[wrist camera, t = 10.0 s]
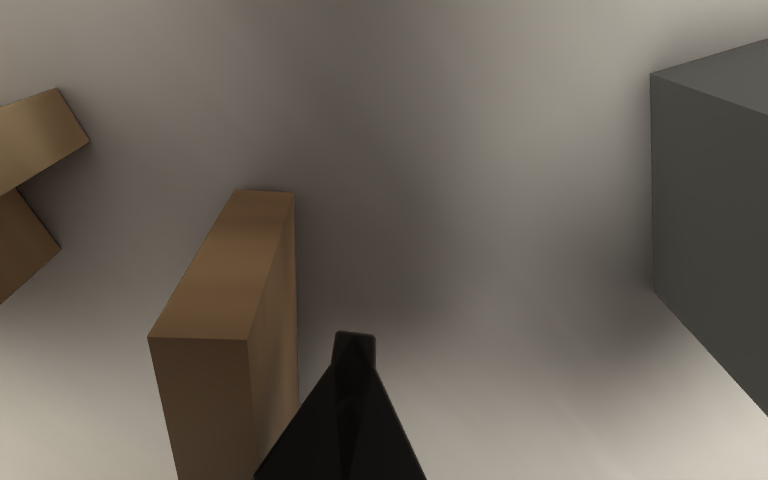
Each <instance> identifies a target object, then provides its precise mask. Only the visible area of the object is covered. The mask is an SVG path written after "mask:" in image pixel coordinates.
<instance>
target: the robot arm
mask: <svg viewBox="0 0 768 480" xmlns="http://www.w3.org/2000/svg"><path fill="white" fill-rule="evenodd" d="M250 480H427V479H426V477H425V474H424V472H423V470H422V468H421V466H420V464H419V461H418V459H417V457H416V455H415V453H414V451H413V448H412V446H411V444H410V442H409V440H408V438H407V435H406V433H405V431H404V429H403V427H402V425H401V422H400V420H399V418H398V416H397V414H396V412H395V409H394V407H393V405H392V403H391V401H390V399H389V396H388V394H387V392H386V390H385V388H384V386H383V383H382V381H381V379H380V377H379V375H378V373H377V370H376V338H375V336H374V335H372V334H364V333H356V332H348V331H337V332H336V334H335V340H334V346H333V352H332V359H331V364H330V366H329V367H328V368H327V370H326V371H325V373H324V374H323V376H322V377H321V378H320V380H319V381H318V383H317V384H316V386H315V387H314V388H313V390H312V391H311V393H310V394H309V396H308V397H307V398H306V400H305V401H304V403H303V404H302V405H301V407H300V408H299V410H298V411H297V413H296V414H295V415H294V417H293V418H292V420H291V421H290V423H289V424H288V425H287V427H286V428H285V430H284V431H283V433H282V434H281V435H280V437H279V438H278V440H277V441H276V443H275V444H274V445H273V447H272V448H271V450H270V451H269V453H268V454H267V455H266V457H265V458H264V460H263V461H262V463H261V464H260V465H259V467H258V468H257V470H256V471H255V473H254V474H253V476H252V479H250Z"/></svg>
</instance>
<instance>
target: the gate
mask: <svg viewBox="0 0 768 480" xmlns="http://www.w3.org/2000/svg"><path fill="white" fill-rule="evenodd" d="M147 338H148V343H149V347H150V352H151V357H152V361H153V366H154V370H155V375H156V379H157V384H158V388H159V393H160V398H161V402H162V407H163V411H164V416H165V420H166V425H167V429H168V434H169V439H170V443H171V448H172V452H173V457H174V461H175V466H176V471H177V475H178V480H250V479H252V476H253V474H254V473H255V471H256V470H257V468H258V467H259V465H260V464H261V463H262V461H263V460H264V458H265V457H266V455H267V454H268V453H269V451H270V450H271V448H272V447H273V445H274V444H275V443H276V441H277V440H278V438H279V437H280V435H281V434H282V433H283V431H284V430H285V428H286V427H287V425H288V424H289V423H290V421H291V420H292V418H293V417H294V415H295V414H296V413H297V411H298V410H299V385H298V343H297V301H296V258H295V216H294V192H276V191H256V190H235V191H234V192H233V194H232V196H231V197H230V199H229V201H228V202H227V204H226V206H225V207H224V209H223V211H222V212H221V214H220V216H219V217H218V219H217V221H216V222H215V224H214V226H213V227H212V229H211V231H210V233H209V234H208V236H207V238H206V239H205V241H204V243H203V244H202V246H201V248H200V249H199V251H198V253H197V254H196V256H195V258H194V259H193V261H192V263H191V264H190V266H189V268H188V269H187V271H186V273H185V274H184V276H183V278H182V279H181V281H180V283H179V284H178V286H177V288H176V289H175V291H174V293H173V294H172V296H171V298H170V300H169V301H168V303H167V305H166V306H165V308H164V310H163V311H162V313H161V315H160V316H159V318H158V320H157V321H156V323H155V325H154V326H153V328H152V330H151V331H150V333H149V335H148V336H147Z"/></svg>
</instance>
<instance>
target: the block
mask: <svg viewBox="0 0 768 480" xmlns="http://www.w3.org/2000/svg"><path fill="white" fill-rule="evenodd" d="M650 109H651V162H652V215H653V267H654V292H655V293H656V294H657V295H658V297H659V298H660V299H661V300H662V301H663V302H664V303H665V304H666V305H667V306H668V308H669V309H670V310H671V311H672V312H673V313H674V314H675V315H676V316H677V317H678V319H679V320H680V321H681V322H682V323H683V324H684V325H685V326H686V327H687V328H688V330H689V331H690V332H691V333H692V334H693V335H694V336H695V337H696V338H697V339H698V341H699V342H700V343H701V344H702V345H703V346H704V347H705V348H706V349H707V350H708V352H709V353H710V354H711V355H712V356H713V357H714V358H715V359H716V360H717V361H718V363H719V364H720V365H721V366H722V367H723V368H724V369H725V370H726V371H727V372H728V373H729V375H730V376H731V377H732V378H733V379H734V380H735V381H736V382H737V383H738V384H739V386H740V387H741V388H742V389H743V390H744V391H745V392H746V393H747V394H748V395H749V397H750V398H751V399H752V400H753V401H754V402H755V403H756V404H757V405H758V406H759V408H760V409H761V410H762V411H763V412H764V413H765V414H766V415H767V416H768V39H765V40H761V41H758V42H755V43H751V44H748V45H744V46H741V47H738V48H734V49H731V50H728V51H724V52H721V53H718V54H714V55H711V56H707V57H704V58H701V59H697V60H694V61H691V62H687V63H684V64H681V65H677V66H674V67H670V68H667V69H664V70H660V71H657V72H654V73H650Z"/></svg>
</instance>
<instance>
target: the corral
mask: <svg viewBox="0 0 768 480" xmlns="http://www.w3.org/2000/svg"><path fill="white" fill-rule="evenodd" d="M88 142H90V141H89V139H88V137H87V136H86V134H85V133H84V131H83V129H82V128H81V126H80V125H79V123H78V122H77V120H76V118H75V117H74V115H73V114H72V112H71V110H70V109H69V107H68V106H67V104H66V102H65V101H64V99H63V98H62V96H61V94H60V93H59V91H58V90H57V88H54V89H51V90H49V91H46V92H43V93H40V94H37V95H34V96H31V97H28V98H25V99H23V100H20V101H17V102H14V103H11V104H8V105H5V106H2V107H0V305H1V304H2V303H3V302H4V301H5V300H6V299H7V298H8V297H9V296H11V295H12V294H13V293H14V292H15V291H16V290H17V289H18V288H19V287H20V286H22V285H23V284H24V283H25V282H26V281H27V280H28V279H29V278H30V277H31V276H33V275H34V274H35V273H36V272H37V271H38V270H39V269H40V268H41V267H42V266H44V265H45V264H46V263H47V262H48V261H49V260H50V259H51V258H52V257H53V256H55V255H56V254H57V253H58V252H59V251H60V250H61V249H60V248H59V246H58V245H57V244H56V242H55V241H54V240H53V238H52V237H51V236H50V234H49V233H48V232H47V230H46V229H45V228H44V226H43V225H42V223H41V222H40V221H39V219H38V218H37V217H36V215H35V214H34V213H33V211H32V210H31V209H30V207H29V206H28V205H27V203H26V202H25V201H24V199H23V198H22V197H21V195H20V194H19V193H18V191H17V190H16V189H15V187H16V186H18V185H20V184H21V183H23V182H25V181H26V180H28V179H30V178H31V177H33V176H34V175H36V174H38V173H39V172H41V171H43V170H44V169H46V168H48V167H49V166H51V165H52V164H54V163H56V162H57V161H59V160H61V159H62V158H64V157H66V156H67V155H69V154H70V153H72V152H74V151H75V150H77V149H79V148H80V147H82V146H84V145H85V144H87V143H88Z"/></svg>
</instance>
